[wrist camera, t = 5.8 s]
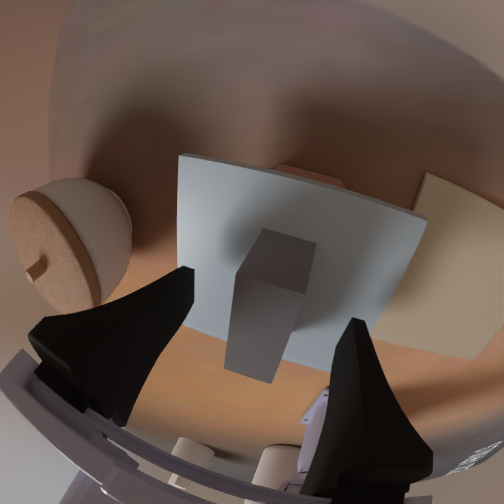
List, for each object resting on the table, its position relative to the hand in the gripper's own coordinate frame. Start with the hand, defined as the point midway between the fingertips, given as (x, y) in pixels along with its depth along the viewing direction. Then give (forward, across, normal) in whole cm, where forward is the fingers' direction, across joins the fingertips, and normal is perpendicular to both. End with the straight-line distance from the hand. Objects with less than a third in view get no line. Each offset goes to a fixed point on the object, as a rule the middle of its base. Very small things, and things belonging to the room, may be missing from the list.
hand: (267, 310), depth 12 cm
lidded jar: (+7, +16, +3) cm, 18 cm away
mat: (+7, -13, 0) cm, 15 cm away
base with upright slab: (+7, +8, +59) cm, 60 cm away
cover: (+2, 0, 0) cm, 3 cm away
